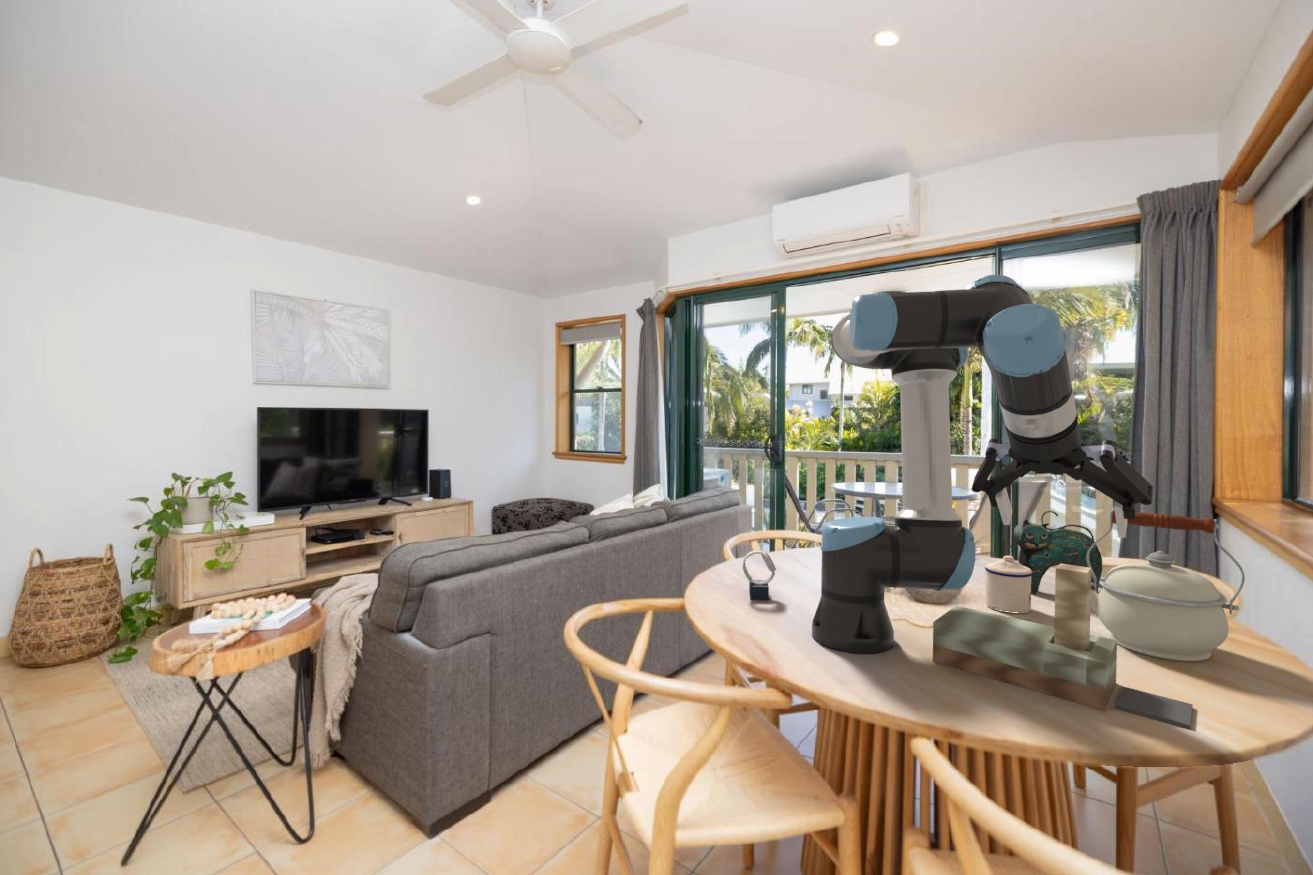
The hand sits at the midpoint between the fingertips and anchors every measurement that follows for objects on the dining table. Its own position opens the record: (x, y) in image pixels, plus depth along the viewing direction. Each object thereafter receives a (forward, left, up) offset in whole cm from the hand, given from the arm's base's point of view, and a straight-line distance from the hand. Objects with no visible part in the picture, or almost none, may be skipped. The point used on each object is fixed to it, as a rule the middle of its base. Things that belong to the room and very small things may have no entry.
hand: (1062, 523), depth 82 cm
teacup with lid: (-18, +47, -28) cm, 58 cm away
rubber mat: (+10, +11, -28) cm, 31 cm away
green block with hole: (-7, +11, -28) cm, 31 cm away
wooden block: (0, +11, -25) cm, 27 cm away
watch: (-62, +14, -28) cm, 70 cm away
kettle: (+7, +41, -28) cm, 50 cm away
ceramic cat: (-12, +68, -28) cm, 74 cm away
